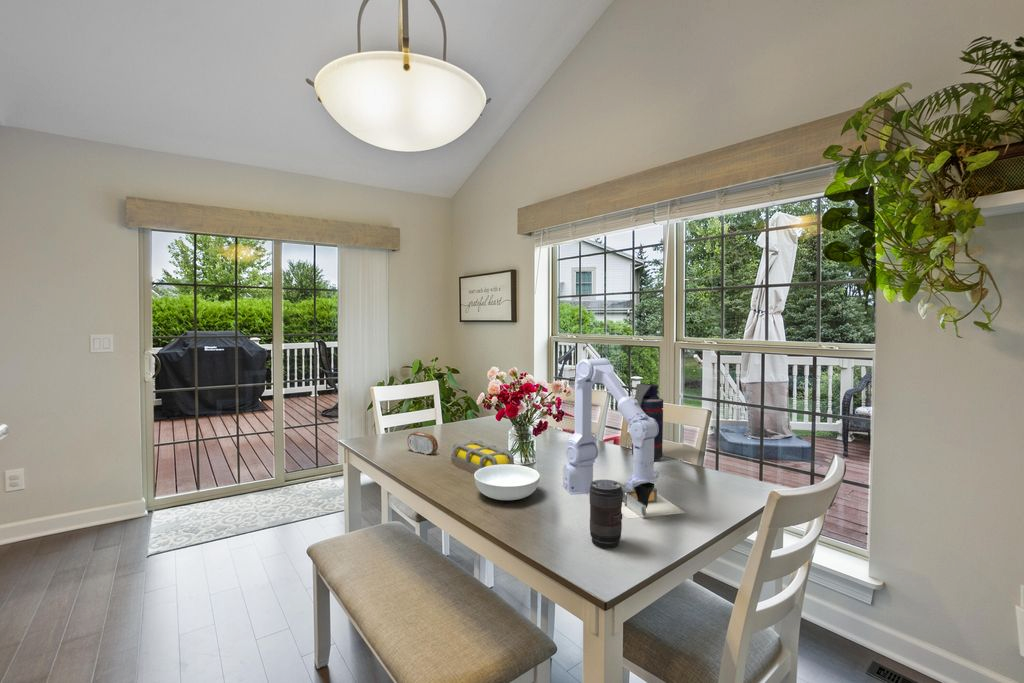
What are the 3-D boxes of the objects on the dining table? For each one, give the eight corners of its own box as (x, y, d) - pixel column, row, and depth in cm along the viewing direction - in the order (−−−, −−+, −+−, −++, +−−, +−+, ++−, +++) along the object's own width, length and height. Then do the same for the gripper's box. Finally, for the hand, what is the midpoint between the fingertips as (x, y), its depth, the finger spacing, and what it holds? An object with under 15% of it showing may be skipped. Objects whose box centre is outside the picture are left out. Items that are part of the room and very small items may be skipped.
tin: (438, 455, 197) (438, 434, 197) (433, 456, 194) (433, 436, 194) (411, 449, 205) (411, 430, 205) (406, 451, 202) (406, 431, 202)
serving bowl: (486, 512, 139) (486, 489, 139) (466, 488, 159) (466, 468, 158) (551, 502, 147) (551, 480, 147) (523, 480, 166) (523, 461, 166)
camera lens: (617, 534, 125) (617, 478, 124) (625, 549, 117) (626, 489, 116) (586, 535, 125) (586, 478, 124) (592, 550, 117) (593, 489, 116)
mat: (628, 519, 134) (628, 518, 134) (604, 498, 150) (604, 497, 150) (685, 513, 138) (685, 512, 138) (656, 493, 154) (656, 492, 154)
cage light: (474, 436, 196) (522, 452, 173) (474, 456, 196) (522, 474, 173) (444, 442, 187) (490, 460, 164) (444, 462, 187) (490, 483, 164)
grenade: (643, 452, 202) (644, 381, 200) (668, 458, 192) (669, 384, 191) (622, 458, 193) (623, 384, 191) (647, 465, 184) (648, 387, 182)
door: (623, 505, 144) (623, 492, 143) (626, 504, 144) (627, 492, 144) (642, 518, 134) (643, 505, 134) (646, 518, 134) (646, 505, 134)
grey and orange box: (623, 505, 144) (623, 490, 143) (614, 498, 149) (614, 483, 149) (656, 502, 146) (657, 487, 146) (646, 495, 152) (647, 480, 152)
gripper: (642, 469, 129) (641, 519, 129) (669, 458, 139) (668, 504, 139) (619, 463, 134) (619, 511, 134) (647, 453, 144) (646, 497, 144)
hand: (642, 507), depth 137 cm, fingers closed, pressing on door
